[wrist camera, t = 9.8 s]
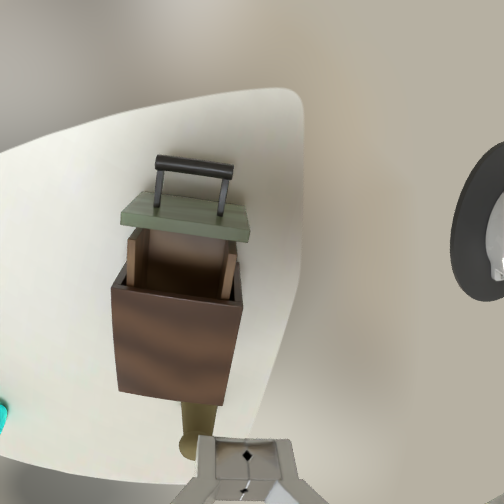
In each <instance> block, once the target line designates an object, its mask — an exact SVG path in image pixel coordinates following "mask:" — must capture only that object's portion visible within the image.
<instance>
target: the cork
mask: <svg viewBox="0 0 504 504" xmlns="http://www.w3.org/2000/svg"><path fill="white" fill-rule="evenodd" d="M181 408H182V422H183V434H184V436H182V438H181V440H180V442H179V449H180V452H181V454H182V455H183V456H184V457H185V458H187V459H190V460H193V461H195V460H196V450H197V443H198V435H204V436H212V434H213V428H214V423H215V417H216V411H217V406H216V405H206V404H197V403H189V402H181Z"/></svg>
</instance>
